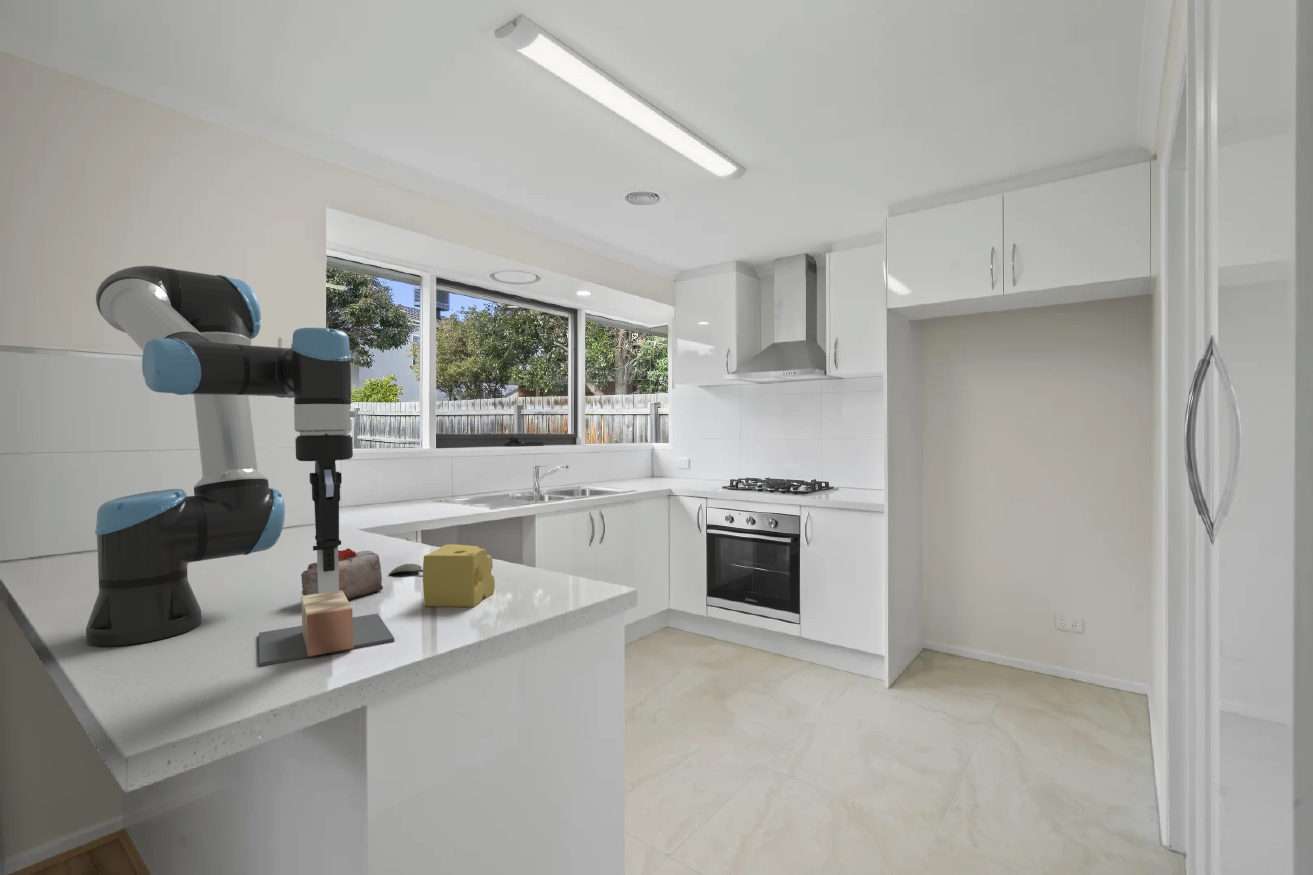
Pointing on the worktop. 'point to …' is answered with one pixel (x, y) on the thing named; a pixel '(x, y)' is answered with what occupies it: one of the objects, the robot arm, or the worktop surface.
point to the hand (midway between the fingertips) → (328, 591)
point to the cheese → (457, 576)
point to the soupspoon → (407, 568)
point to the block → (327, 622)
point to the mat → (292, 645)
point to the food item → (349, 574)
